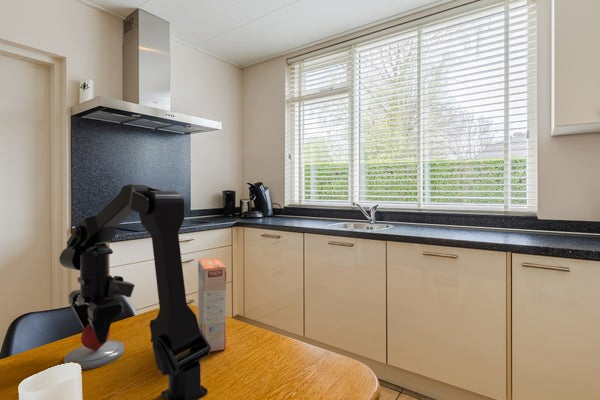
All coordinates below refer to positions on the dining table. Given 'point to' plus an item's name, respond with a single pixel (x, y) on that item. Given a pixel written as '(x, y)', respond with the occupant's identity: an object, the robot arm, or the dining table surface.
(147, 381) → the dining table surface
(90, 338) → the onion
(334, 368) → the dining table surface
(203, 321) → the cracker box
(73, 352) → the plate
